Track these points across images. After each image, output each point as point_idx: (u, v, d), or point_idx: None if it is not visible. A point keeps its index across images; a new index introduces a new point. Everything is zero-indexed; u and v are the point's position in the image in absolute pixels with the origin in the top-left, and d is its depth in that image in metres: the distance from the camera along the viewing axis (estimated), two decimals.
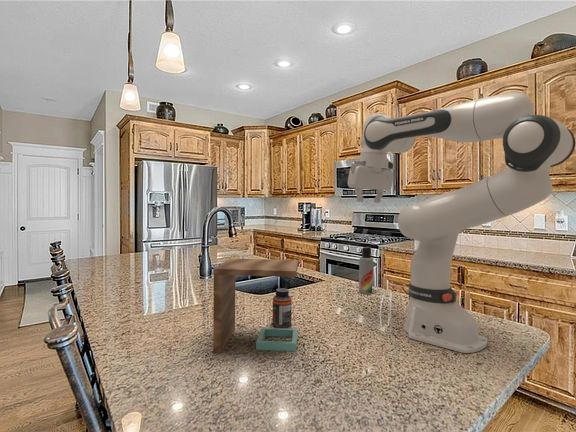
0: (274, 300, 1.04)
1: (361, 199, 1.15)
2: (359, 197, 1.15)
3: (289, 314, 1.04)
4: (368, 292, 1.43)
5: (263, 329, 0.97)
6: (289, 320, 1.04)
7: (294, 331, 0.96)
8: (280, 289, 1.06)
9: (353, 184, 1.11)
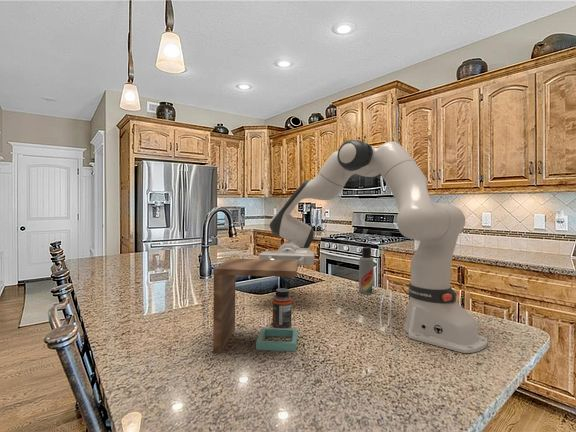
0: (274, 300, 1.04)
1: (271, 258, 1.17)
2: (270, 259, 1.18)
3: (289, 314, 1.04)
4: (368, 292, 1.43)
5: (263, 329, 0.97)
6: (289, 320, 1.04)
7: (294, 331, 0.96)
8: (280, 289, 1.06)
9: (259, 255, 1.23)
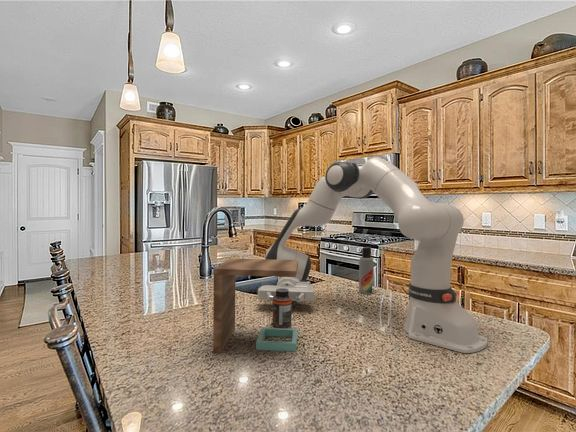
0: (274, 300, 1.04)
1: (270, 295, 1.15)
2: (268, 296, 1.15)
3: (289, 314, 1.04)
4: (368, 292, 1.43)
5: (263, 329, 0.97)
6: (289, 320, 1.04)
7: (294, 331, 0.96)
8: (280, 289, 1.06)
9: None
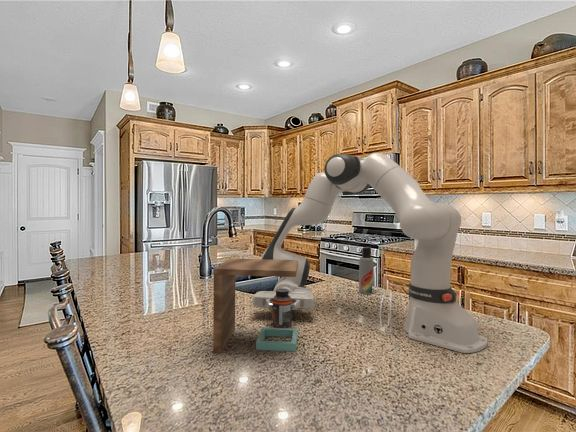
0: (274, 300, 1.04)
1: (269, 303, 1.06)
2: (268, 304, 1.06)
3: (289, 314, 1.04)
4: (368, 292, 1.43)
5: (263, 329, 0.97)
6: (289, 320, 1.04)
7: (294, 331, 0.96)
8: (280, 289, 1.06)
9: (253, 297, 1.11)
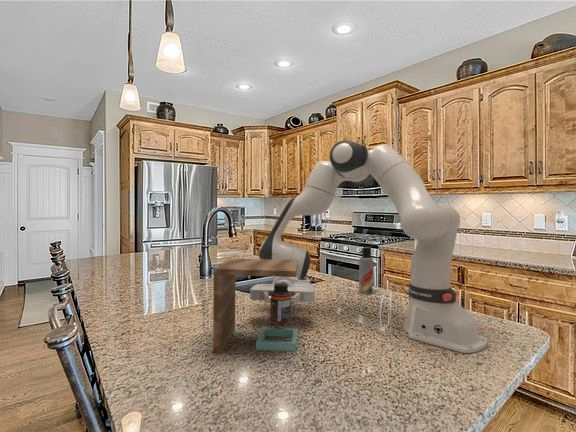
0: (272, 295, 0.98)
1: (267, 295, 1.00)
2: (266, 297, 1.01)
3: (288, 309, 0.98)
4: (368, 292, 1.43)
5: (263, 329, 0.97)
6: (288, 316, 0.98)
7: (294, 331, 0.96)
8: (279, 283, 1.00)
9: (250, 290, 1.05)
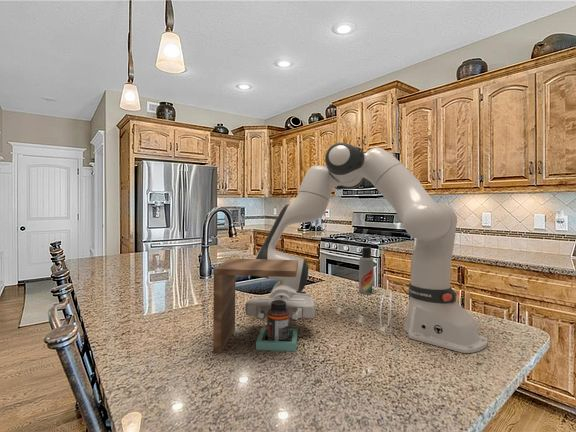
0: (269, 314, 0.91)
1: (260, 311, 0.93)
2: (259, 312, 0.93)
3: (287, 330, 0.91)
4: (368, 292, 1.43)
5: (263, 329, 0.97)
6: (286, 337, 0.91)
7: (294, 331, 0.96)
8: (276, 301, 0.93)
9: (245, 304, 0.98)
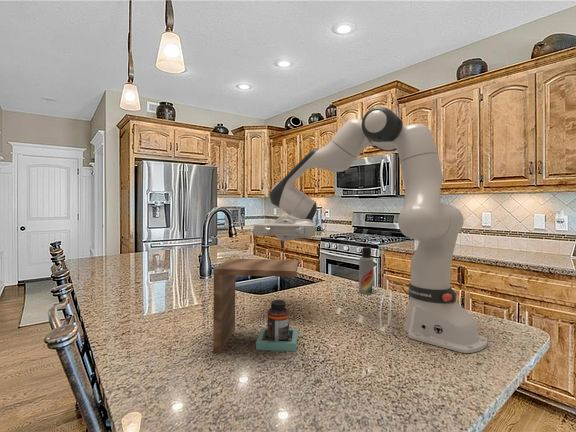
0: (269, 314, 0.91)
1: (267, 228, 1.05)
2: None
3: (287, 330, 0.91)
4: (368, 292, 1.43)
5: (263, 329, 0.97)
6: (286, 337, 0.91)
7: (294, 331, 0.96)
8: (276, 301, 0.93)
9: None
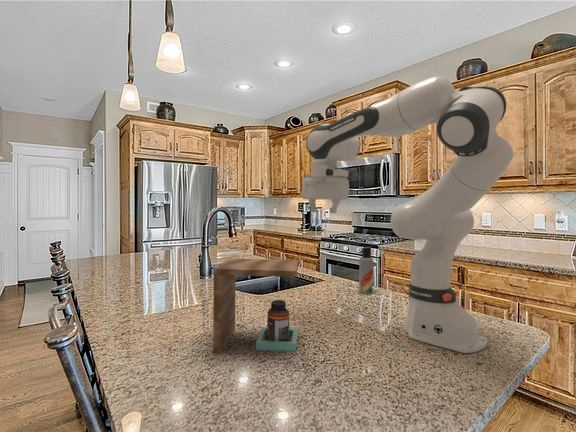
0: (269, 314, 0.91)
1: (311, 209, 1.21)
2: None
3: (287, 330, 0.91)
4: (368, 292, 1.43)
5: (263, 329, 0.97)
6: (286, 337, 0.91)
7: (294, 331, 0.96)
8: (276, 301, 0.93)
9: None
